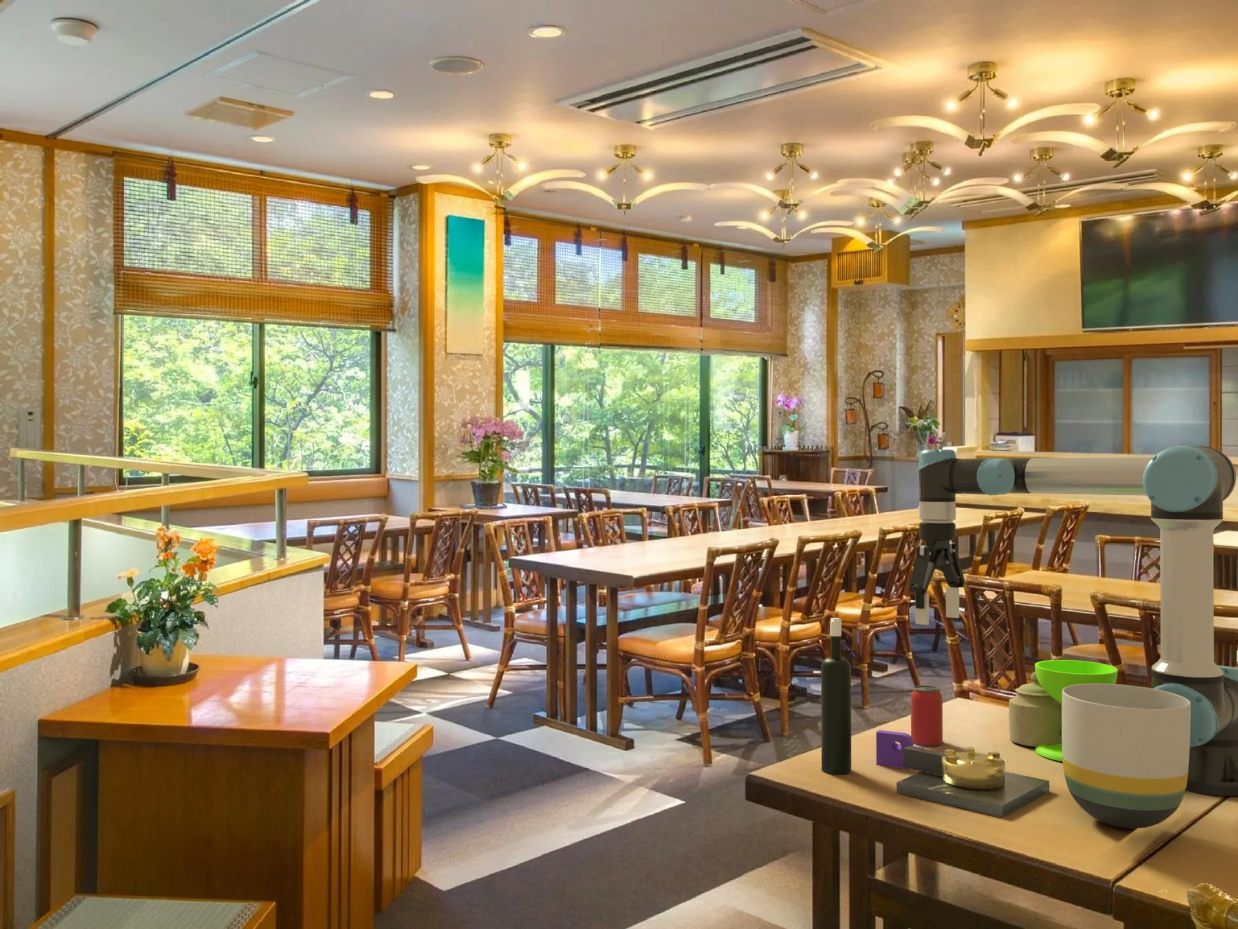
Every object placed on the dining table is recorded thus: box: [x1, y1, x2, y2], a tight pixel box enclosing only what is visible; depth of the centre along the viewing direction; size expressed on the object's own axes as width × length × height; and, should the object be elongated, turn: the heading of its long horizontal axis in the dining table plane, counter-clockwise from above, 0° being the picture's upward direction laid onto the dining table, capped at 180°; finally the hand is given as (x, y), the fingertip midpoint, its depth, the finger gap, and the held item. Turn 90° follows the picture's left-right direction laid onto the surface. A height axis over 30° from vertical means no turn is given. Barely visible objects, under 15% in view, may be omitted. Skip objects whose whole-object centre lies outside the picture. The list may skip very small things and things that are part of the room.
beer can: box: [910, 684, 944, 747], centre depth 232 cm, size 7×7×12 cm
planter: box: [1062, 683, 1191, 829], centre depth 180 cm, size 20×20×21 cm
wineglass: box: [1034, 659, 1119, 762], centre depth 224 cm, size 16×16×18 cm
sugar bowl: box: [1008, 671, 1062, 748], centre depth 232 cm, size 15×11×15 cm
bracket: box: [875, 729, 925, 770], centre depth 220 cm, size 12×7×7 cm, turn 151°
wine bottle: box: [820, 617, 852, 775], centre depth 212 cm, size 6×6×30 cm
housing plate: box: [896, 771, 1050, 818], centre depth 198 cm, size 20×20×2 cm
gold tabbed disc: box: [903, 745, 1006, 789], centre depth 201 cm, size 19×11×5 cm, turn 46°
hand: (937, 621), depth 230 cm, fingers open, 13 cm apart
